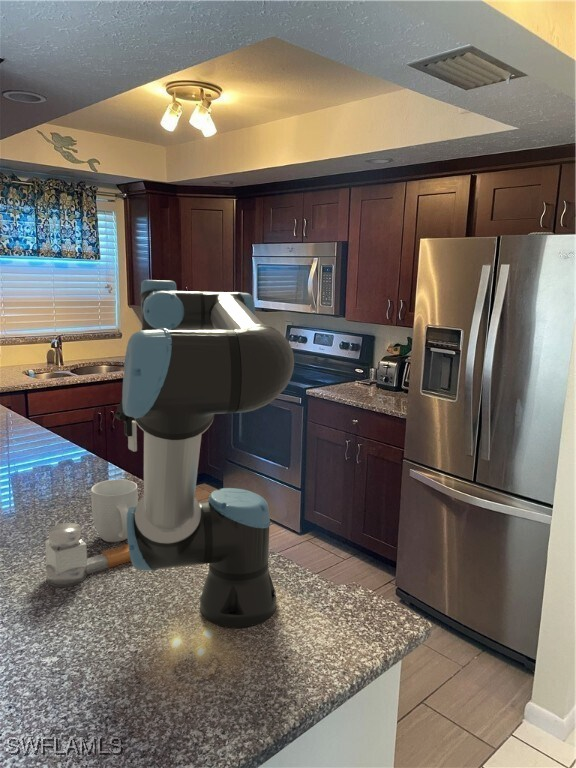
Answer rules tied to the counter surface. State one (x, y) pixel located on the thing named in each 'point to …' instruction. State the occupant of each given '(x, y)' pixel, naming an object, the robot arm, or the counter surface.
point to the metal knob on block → (65, 548)
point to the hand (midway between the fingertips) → (160, 444)
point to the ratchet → (89, 567)
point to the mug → (113, 507)
